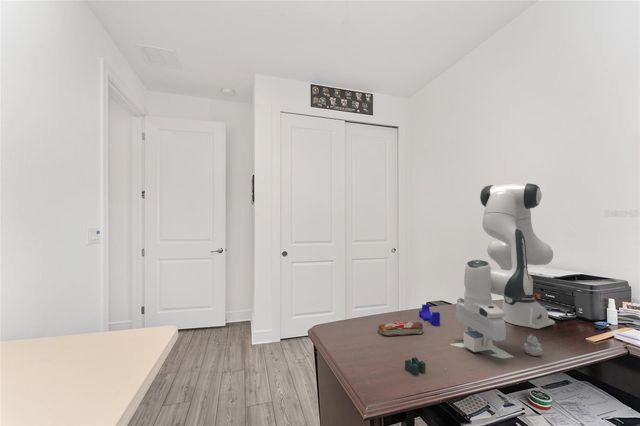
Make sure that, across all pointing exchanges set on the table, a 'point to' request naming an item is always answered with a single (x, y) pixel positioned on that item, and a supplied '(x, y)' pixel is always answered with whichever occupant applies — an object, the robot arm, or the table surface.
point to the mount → (415, 366)
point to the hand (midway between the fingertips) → (477, 342)
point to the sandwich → (400, 328)
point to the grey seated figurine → (533, 346)
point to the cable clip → (429, 315)
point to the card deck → (475, 341)
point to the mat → (488, 351)
